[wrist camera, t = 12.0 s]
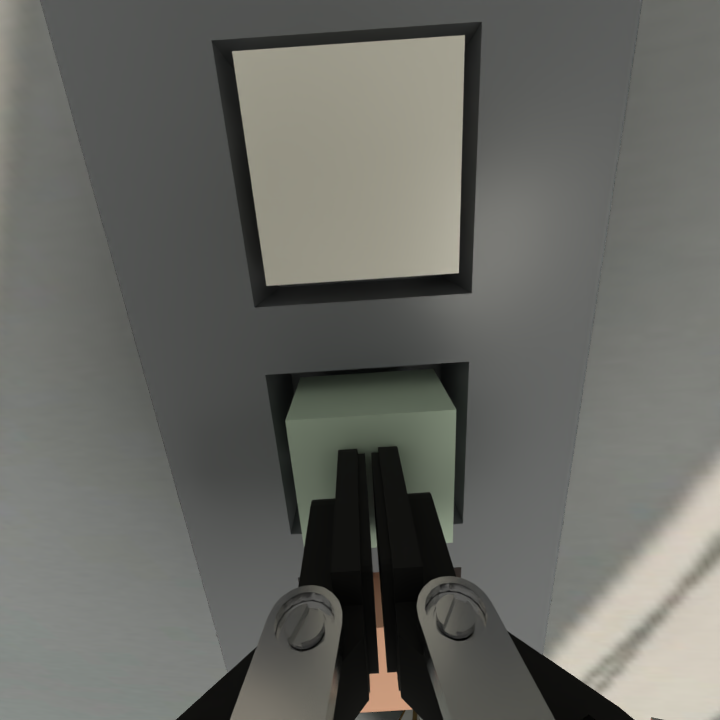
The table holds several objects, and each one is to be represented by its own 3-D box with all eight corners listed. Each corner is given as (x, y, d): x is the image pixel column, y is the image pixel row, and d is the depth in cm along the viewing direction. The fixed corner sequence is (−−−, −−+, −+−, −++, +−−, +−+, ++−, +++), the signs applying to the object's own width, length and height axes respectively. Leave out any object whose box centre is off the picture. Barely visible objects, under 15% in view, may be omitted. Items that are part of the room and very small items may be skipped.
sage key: (300, 377, 13) (285, 420, 10) (433, 368, 13) (456, 409, 10) (314, 487, 14) (304, 551, 11) (432, 479, 14) (452, 542, 11)
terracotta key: (323, 556, 15) (316, 631, 12) (432, 550, 15) (450, 623, 12) (332, 632, 17) (328, 714, 14) (432, 626, 17) (448, 707, 14)
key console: (131, 29, 11) (20, -69, 8) (557, 0, 11) (659, -115, 8) (261, 625, 20) (240, 717, 16) (501, 610, 20) (536, 699, 16)
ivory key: (266, 101, 10) (231, 51, 7) (433, 89, 10) (464, 34, 7) (288, 271, 12) (266, 286, 9) (432, 262, 11) (458, 273, 9)
